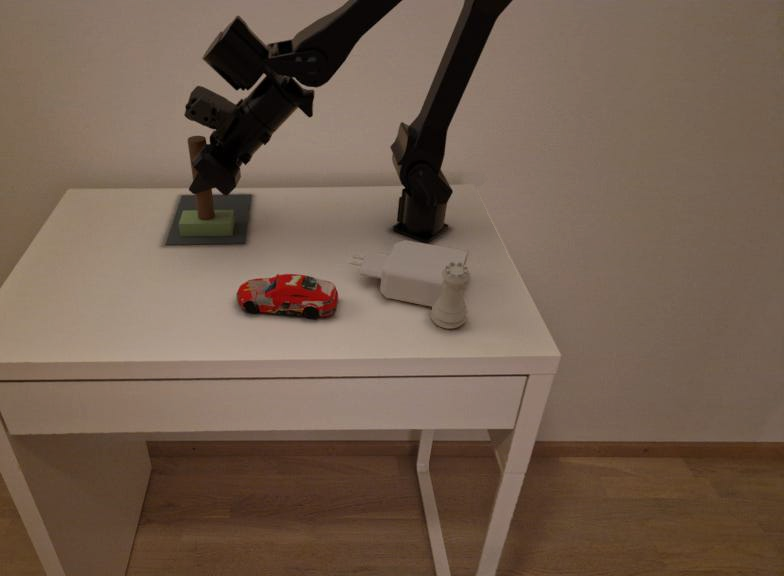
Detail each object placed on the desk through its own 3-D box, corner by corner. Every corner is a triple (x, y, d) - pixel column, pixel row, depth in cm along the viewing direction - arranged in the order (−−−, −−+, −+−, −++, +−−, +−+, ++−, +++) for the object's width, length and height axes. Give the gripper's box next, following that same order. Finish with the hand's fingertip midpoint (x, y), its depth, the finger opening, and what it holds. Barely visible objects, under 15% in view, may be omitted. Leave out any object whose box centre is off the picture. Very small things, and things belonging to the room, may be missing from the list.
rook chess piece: (426, 307, 76) (433, 257, 70) (461, 304, 76) (470, 254, 70) (434, 332, 73) (442, 282, 67) (470, 328, 73) (481, 278, 67)
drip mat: (244, 244, 90) (244, 242, 90) (165, 245, 90) (165, 243, 90) (251, 195, 103) (251, 194, 103) (182, 196, 103) (181, 195, 103)
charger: (359, 258, 86) (463, 277, 82) (339, 291, 80) (451, 314, 75) (361, 229, 83) (469, 247, 79) (340, 261, 77) (457, 283, 72)
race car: (232, 313, 76) (229, 287, 74) (243, 290, 80) (241, 264, 78) (333, 323, 74) (334, 296, 72) (339, 298, 78) (340, 273, 76)
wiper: (234, 222, 95) (226, 132, 86) (232, 236, 91) (223, 144, 82) (184, 223, 95) (171, 133, 86) (180, 236, 91) (165, 145, 82)
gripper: (231, 49, 84) (169, 126, 93) (198, 88, 70) (128, 174, 79) (288, 108, 89) (223, 176, 97) (267, 156, 75) (193, 231, 83)
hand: (193, 187), depth 89 cm, fingers closed on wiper, 2 cm apart
